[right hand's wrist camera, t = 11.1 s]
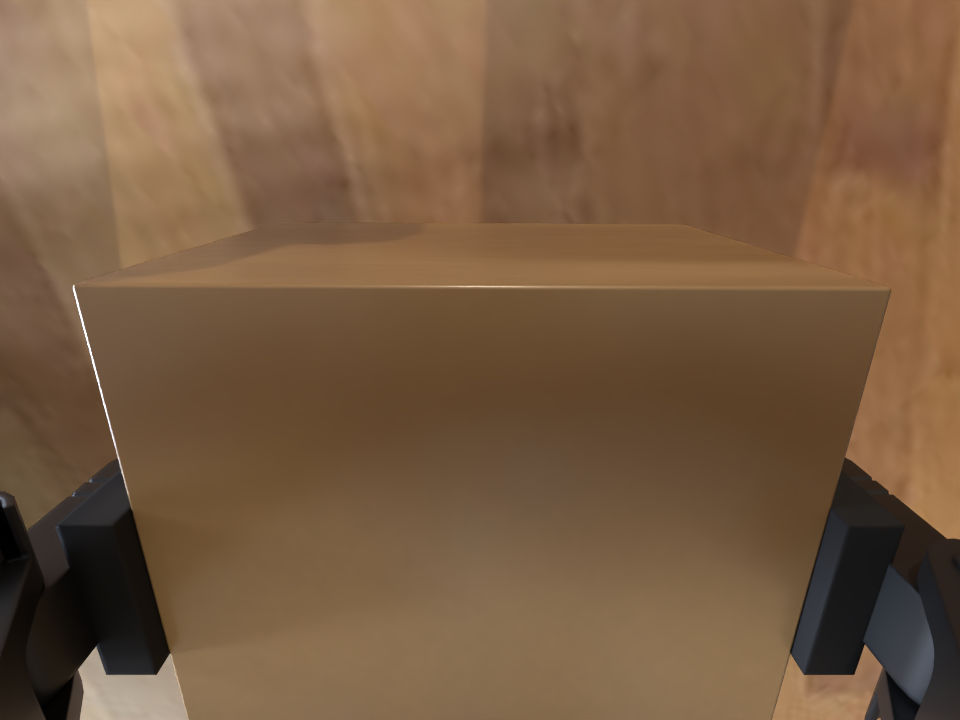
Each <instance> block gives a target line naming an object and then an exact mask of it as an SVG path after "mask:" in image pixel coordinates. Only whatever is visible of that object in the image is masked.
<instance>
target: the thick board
mask: <svg viewBox="0 0 960 720" xmlns="http://www.w3.org/2000/svg"><path fill="white" fill-rule="evenodd" d="M73 292H74V295H75V299H76V303H77V307H78V310H79V314H80V318H81V322H82V325H83V329H84V333H85V337H86V340H87V344H88V348H89V352H90V355H91V359H92V363H93V367H94V370H95V374H96V378H97V382H98V385H99V389H100V393H101V397H102V400H103V404H104V408H105V412H106V415H107V419H108V423H109V427H110V430H111V434H112V438H113V442H114V445H115V449H116V453H117V457H118V460H119V464H120V468H121V472H122V475H123V479H124V483H125V487H126V490H127V494H128V498H129V502H130V505H131V509H132V513H133V517H134V520H135V524H136V528H137V532H138V535H139V539H140V543H141V547H142V550H143V554H144V558H145V562H146V565H147V569H148V573H149V577H150V580H151V584H152V588H153V592H154V595H155V599H156V603H157V607H158V610H159V614H160V618H161V622H162V625H163V629H164V633H165V637H166V640H167V644H168V648H169V652H170V655H171V659H172V663H173V667H174V670H175V674H176V678H177V682H178V685H179V689H180V693H181V697H182V700H183V704H184V708H185V712H186V715H187V719H188V720H772V717H773V714H774V710H775V707H776V703H777V699H778V696H779V692H780V689H781V685H782V681H783V678H784V674H785V671H786V667H787V663H788V660H789V656H790V653H791V649H792V645H793V642H794V638H795V635H796V631H797V627H798V624H799V620H800V617H801V613H802V610H803V606H804V602H805V599H806V595H807V592H808V588H809V584H810V581H811V577H812V574H813V570H814V566H815V563H816V559H817V555H818V552H819V548H820V545H821V541H822V537H823V534H824V530H825V526H826V523H827V519H828V515H829V512H830V508H831V505H832V502H833V498H834V495H835V491H836V487H837V484H838V480H839V477H840V473H841V469H842V466H843V462H844V459H845V455H846V451H847V448H848V444H849V441H850V437H851V433H852V430H853V426H854V423H855V419H856V415H857V412H858V408H859V405H860V401H861V397H862V394H863V390H864V387H865V383H866V379H867V376H868V372H869V369H870V365H871V362H872V358H873V354H874V351H875V347H876V344H877V340H878V336H879V333H880V329H881V326H882V322H883V318H884V315H885V311H886V308H887V304H888V300H889V297H890V293H891V289H890V288H889V287H887V286H885V285H881V284H878V283H875V282H872V281H868V280H865V279H862V278H858V277H855V276H852V275H848V274H845V273H842V272H839V271H835V270H832V269H829V268H825V267H822V266H819V265H816V264H812V263H809V262H806V261H802V260H799V259H796V258H792V257H789V256H786V255H783V254H779V253H776V252H773V251H769V250H766V249H763V248H760V247H756V246H753V245H750V244H746V243H743V242H740V241H736V240H733V239H730V238H727V237H723V236H720V235H717V234H713V233H710V232H707V231H704V230H700V229H697V228H694V227H690V226H687V225H684V224H516V223H283V222H279V223H275V224H272V225H269V226H265V227H262V228H259V229H255V230H252V231H249V232H245V233H242V234H239V235H235V236H232V237H229V238H225V239H222V240H219V241H215V242H212V243H209V244H205V245H202V246H198V247H195V248H192V249H188V250H185V251H182V252H178V253H175V254H172V255H168V256H165V257H162V258H158V259H155V260H152V261H148V262H145V263H142V264H138V265H135V266H132V267H128V268H125V269H122V270H118V271H115V272H111V273H108V274H105V275H101V276H98V277H95V278H91V279H88V280H85V281H81V282H78V283H76V284H74V285H73Z"/></svg>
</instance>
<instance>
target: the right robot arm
mask: <svg viewBox="0 0 960 720" xmlns="http://www.w3.org/2000/svg"><path fill="white" fill-rule="evenodd" d="M871 478H872V477H871V476H869V475H868V474H867V473H866V472H864V471H863V470H862V469H861V468H860V467H858V466H857V465H856V464H855V463H853V462H852V461H851V460H849V459H847V458H845V459H844V462H843V466H842V469H841V473H840V477H839V480H838V484H837V487H836V491H835V495H834V498H833V502H832V505H831V508H830V512H829V515H828V519H827V523H826V526H825V530H824V534H823V537H822V541H821V545H820V548H819V552H818V555H817V559H816V563H815V566H814V570H813V574H812V577H811V581H810V584H809V588H808V592H807V595H806V599H805V602H804V606H803V610H802V613H801V617H800V620H799V624H798V627H797V631H796V635H795V638H794V642H793V645H792V649H791V655H792V657H793V658H794V660H795V661H796V663H797V665H798V666H799V668H800V669H801V671H802V672H803V674H804V675H854V674H855V671H856V668H857V665H858V662H859V659H860V657H861V654H862V651H863V648H864V645H866V646H867V647H868V648H869V650H870V651H871V652H872V654H873V655H874V656H875V657H876V659H877V660H878V661H879V662H880V664H881V665H882V666H883V669H882V671H881V674H880V677H879V680H878V682H877V685H876V688H875V690H874V693H873V696H872V698H871V701H870V704H869V707H868V709H867V712H866V715H865V719H864V720H877V719H878V718H881V720H960V540H959V539H947V538H945V537H944V536H943V535H942V534H940V533H939V532H938V531H937V530H936V529H934V528H933V527H932V526H931V525H929V524H928V523H927V522H926V521H924V520H923V519H922V518H921V517H920V516H918V515H917V514H916V513H915V512H913V511H912V510H911V509H910V508H909V507H907V506H906V505H905V504H904V503H902V502H901V501H900V500H899V499H898V498H896V497H895V496H894V495H889V493H888V490H887V489H885V488H884V487H883V486H882V485H880V484H879V483H878V482H877V481H872V479H871ZM96 646H97V649H98V652H99V655H100V658H101V661H102V664H103V667H104V670H105V672H106V675H157V673H158V671H159V670H160V668H161V667H162V665H163V664H164V662H165V660H166V659H167V657H168V656H169V654H170V652H169V648H168V644H167V640H166V637H165V633H164V629H163V625H162V622H161V618H160V614H159V610H158V607H157V603H156V599H155V595H154V592H153V588H152V584H151V580H150V577H149V573H148V569H147V565H146V562H145V558H144V554H143V550H142V547H141V543H140V539H139V535H138V532H137V528H136V524H135V520H134V517H133V513H132V509H131V505H130V502H129V498H128V494H127V490H126V487H125V483H124V479H123V475H122V472H121V468H120V464H119V460H118V459H116V460H114V461H112V462H110V463H109V464H107V465H106V466H105V467H104V468H103V469H101V470H100V471H99V472H98V473H96V474H95V475H94V476H93V477H92V478H90V481H89V483H84V484H83V485H82V486H81V487H79V488H78V489H77V490H76V491H75V492H73V496H72V497H67V498H66V499H65V500H64V501H62V502H61V503H60V504H59V505H58V506H56V507H55V508H54V509H53V510H51V511H50V512H49V513H48V514H47V515H45V516H44V517H43V518H42V519H41V520H39V521H38V522H37V523H36V524H34V525H33V526H32V527H31V528H30V529H28V530H26V528H25V525H24V522H23V519H22V517H21V514H20V511H19V509H18V506H17V503H16V501H15V498H14V496H12V495H10V494H8V493H6V492H3V491H0V720H80V713H81V706H82V700H83V693H84V691H83V685H82V680H81V677H80V674H79V671H78V669H79V667H80V666H81V665H82V663H83V662H84V661H85V660H86V658H87V657H88V656H89V655H90V653H91V652H92V651H93V649H94V648H95V647H96Z"/></svg>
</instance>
